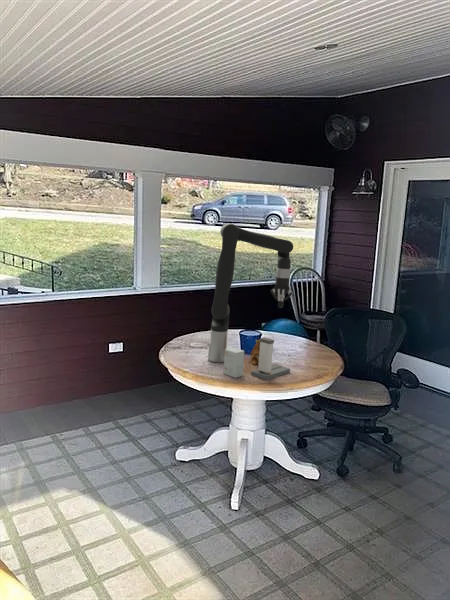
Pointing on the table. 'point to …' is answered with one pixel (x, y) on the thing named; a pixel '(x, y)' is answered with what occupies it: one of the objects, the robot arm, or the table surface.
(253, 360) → the stuffed squirrel
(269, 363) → the grey tall block
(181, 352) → the table surface
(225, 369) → the small box
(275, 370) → the fader panel
